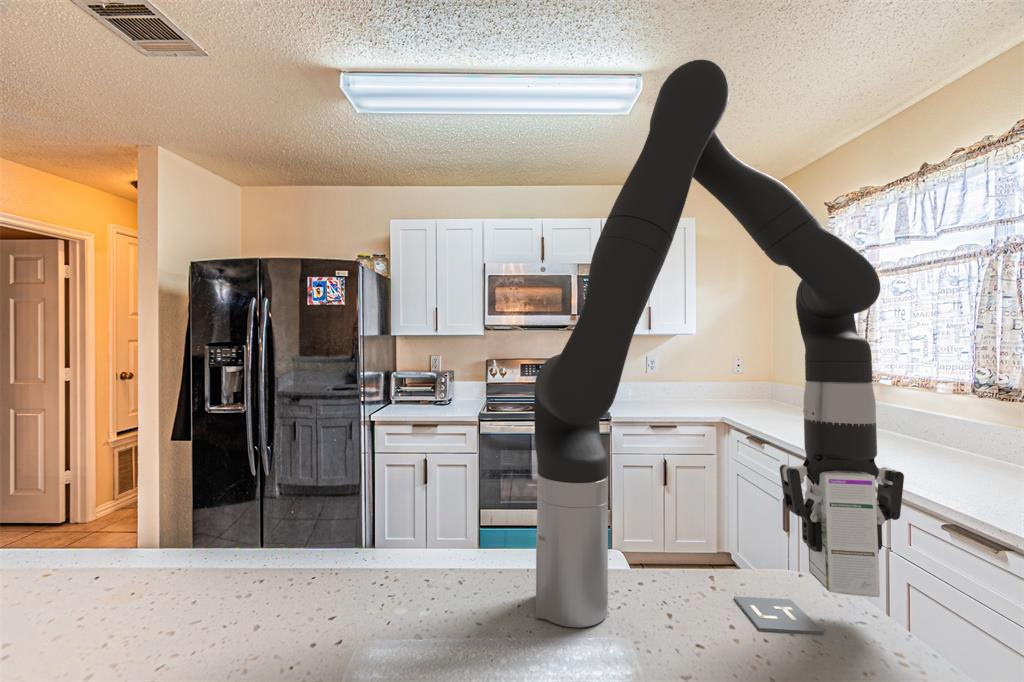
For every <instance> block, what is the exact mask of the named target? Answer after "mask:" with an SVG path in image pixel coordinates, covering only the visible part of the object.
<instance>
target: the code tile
mask: <svg viewBox="0 0 1024 682" xmlns="http://www.w3.org/2000/svg"><path fill="white" fill-rule="evenodd" d="M733 599H734V601H735V602H736V603H737V604H738V606H739V607H740V608H741V610H742V611H743V612H744V614H745V615H746V616H747V617H748V619H750V621H751V622H752V623H753V624H754V626H755V627H756V628H757V630H758V631H761V632H778V633H779V632H780V633H798V634H812V635H813V634H814V635H815V634H816V635H824V634H825V632H824V629H822V628H821V627H819V625H818V624H817V623H815V622H814V620H813V619H812V618H810V617H809V616H808V615H807V614H806V613H805V612H804V611H803V610H802V608H800V607H799V606H798V605H797V604H796V603H795V602H794V601H793V600H792V599H791V598H776V597H775V598H772V597H771V598H770V597H752V596H748V597H747V596H737V595H736V596H733Z"/></svg>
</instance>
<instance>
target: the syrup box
mask: <svg viewBox="0 0 1024 682" xmlns="http://www.w3.org/2000/svg"><path fill="white" fill-rule="evenodd" d="M805 477H806V478H805V479H806V481H805V482H806V489H807V488H808V486H809V484H810V483H811V485H812V492H813V494H814V495H816V496H820V495H821V496H822V497H823V504H822V505H821V518H820V520H819V522H820V523H821V531H822V552H814V551H813V550H811V549H810V548H808V571H809V573H810V574H811V575H812V577H814V578H815V579H816V580H817V582H819V583H820V584H821V586H823V587H824V588H825V589H826V590H827V591H828V593H832V594H833V593H834V594H840V595H847V596H858V597H867V598H868V597H870V598H873V597H874V598H880V597H881V589H880V585H881V584H880V565H879V564H880V562H879V561H880V558H879V554H878V535H877V514H876V499H877V491H876V480H875V477H874V476H873V475H870V474H868V473H865V472H857V471H827V472H822V473H821V474H820V482H819V485H818V486H817V485H816V483H815V484H814V485H813V484H812V482H811V481H810V480H809V478H808V477H807V476H806V475H805Z"/></svg>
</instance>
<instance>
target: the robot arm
mask: <svg viewBox="0 0 1024 682" xmlns="http://www.w3.org/2000/svg"><path fill="white" fill-rule="evenodd" d="M656 97H657V98H656V100H655V104H654V106H653V109H652V113H651V117H650V121H649V131H648V134H647V136H646V140H645V143H644V145H643V148H642V149H641V152H640V154H639V156H638V158H637V160H636V161H635V163H634V165H633V167H632V168H631V170H630V172H629V175H628V176H627V177H626V180H625V182H624V184H623V185H622V187H621V190H620V192H619V193H618V196H617V197H616V200H615V202H614V204H613V206H612V207H611V210H610V212H609V214H608V216H607V218H606V220H605V223H604V225H603V228H602V231H601V232H600V235H599V237H598V240H597V242H596V244H595V248H594V251H593V254H592V258H591V261H590V266H589V271H588V275H587V276H588V278H587V283H586V284H587V285H586V292H585V297H584V298H585V299H584V302H583V306H582V308H581V312H580V315H579V316H578V320H577V322H576V324H575V326H574V328H573V330H572V332H571V334H570V336H569V338H568V340H567V342H566V344H565V345H564V348H563V349H562V351H561V353H560V354H556V355H553V356H552V357H550V358H548V359H547V360H546V361H545V362H544V363H543V364H542V365H541V367H540V368H539V370H538V372H537V375H536V377H535V382H534V400H533V401H534V403H533V405H534V409H533V410H534V411H533V412H534V414H533V415H534V419H533V420H534V448H535V453H536V459H537V460H536V461H537V465H536V466H537V470H536V471H537V483H536V484H537V493H536V494H537V497H536V505H537V506H536V509H537V510H536V513H537V514H536V539H535V541H536V543H535V546H536V548H535V549H536V551H535V554H536V555H535V618H536V619H543V620H547V621H549V622H550V623H553V624H556V625H559V626H562V627H567V628H586V627H592V626H595V625H597V624H599V623H602V622H603V621H604V620H605V618H606V617H607V615H608V613H609V611H608V609H609V608H608V603H609V592H608V591H609V590H608V589H609V588H608V587H609V586H608V585H609V583H608V581H609V580H608V579H609V578H608V577H609V575H608V574H609V571H608V570H609V566H608V565H609V564H608V563H609V559H608V558H609V549H608V548H609V542H608V541H609V536H608V535H609V534H608V533H609V462H608V461H609V458H608V455H607V452H606V450H605V448H604V445H603V442H602V437H601V431H600V430H601V428H600V425H601V424H600V420H601V419H602V418H603V417H604V416H605V415H606V414H607V413H608V412H609V409H610V408H611V407H612V405H613V403H614V401H615V398H616V396H617V393H618V389H619V386H620V384H621V383H620V382H621V379H622V374H623V371H624V368H625V364H626V360H627V356H628V355H629V354H628V353H629V349H630V347H631V344H632V339H633V336H634V334H635V332H636V328H637V327H638V326H637V325H638V324H639V322H640V319H641V318H642V315H643V312H644V310H645V308H646V306H647V304H648V302H649V299H650V296H651V294H652V292H653V289H654V286H655V283H656V281H657V280H658V277H659V274H660V272H661V271H662V268H663V266H664V264H665V262H666V258H667V256H668V254H669V251H670V249H671V247H672V243H673V240H674V238H675V234H676V232H677V229H678V226H679V223H680V220H681V217H682V213H683V211H684V207H685V206H686V205H685V204H686V202H687V198H688V194H689V192H690V187H691V184H692V180H693V179H694V180H695V181H696V182H697V183H699V185H701V186H702V187H703V188H704V190H707V192H709V193H710V195H712V196H713V197H714V198H715V199H717V201H718V202H719V203H721V204H722V206H724V207H725V209H726V210H728V212H729V213H730V214H731V215H732V216H733V217H734V218H735V219H736V220H737V221H738V223H739V224H740V225H741V226H742V227H743V229H744V230H745V231H746V232H747V233H748V235H749V236H750V237H751V238H752V240H753V241H754V242H755V243H756V244H757V246H758V247H759V248H760V250H761V251H762V252H764V254H765V255H766V256H767V257H768V258H769V260H770V261H771V262H773V263H774V264H776V265H777V266H783V267H784V266H785V267H788V268H790V269H791V270H792V271H793V272H794V273H795V274H796V276H797V277H799V278H800V279H801V280H800V282H799V284H798V286H797V289H796V295H795V309H796V316H797V320H798V325H799V330H800V335H801V338H802V340H803V344H804V348H805V350H804V352H805V353H804V369H805V371H804V372H805V375H804V376H805V379H804V381H805V383H804V385H805V386H804V391H803V407H802V409H803V410H802V413H803V433H804V434H803V436H804V450H805V451H804V452H805V460H804V461H803V463H802V465H793V466H791V465H790V466H789V465H787V464H781V465H780V466H779V472H780V473H779V474H780V480H781V488H782V495H783V501H784V507H785V509H786V510H787V511H789V512H791V513H792V514H794V515H795V516H796V517H797V516H798V517H800V519H801V539H802V541H803V543H804V544H806V546H807V548H808V549H809V548H810V549H811V550H813V551H814V552H822V531H821V523H820V522H819V520H820V518H821V505H822V504H823V497H822V496H821V495H820V496H816V495H814V494H813V492H812V485H811V483H810V484H809V486H808V488H807V487H806V491H805V492H804V495H803V488H802V484H803V483H804V482H805V477H806V476H807V477H808V478H809V480H810V481H811V482H812V484H813V485H814V484H815V483H816V485H817V486H818V485H819V482H820V474H821V473H822V472H827V471H857V472H865V473H868V474H870V475H873V476H874V477H875V481H876V483H877V484H878V485H877V491H876V514H877V535H878V555H879V553H880V550H882V547H883V524H885V522H886V521H889V520H894V521H897V520H899V519H900V518H901V511H902V500H903V492H904V481H905V475H904V473H903V472H901V471H898V470H897V469H893V468H889V467H885V466H883V467H878V466H877V464H876V462H875V461H876V460H875V458H876V457H877V456H878V443H877V442H878V441H877V440H878V439H877V438H878V436H877V434H878V433H877V408H876V407H877V405H876V396H875V392H874V391H875V390H874V386H873V362H872V361H873V360H872V357H873V356H872V349H871V345H870V343H869V341H868V340H867V339H865V338H864V337H861V336H859V334H858V330H857V325H856V320H855V315H856V314H858V313H862V312H864V311H866V310H868V309H869V308H871V307H872V306H873V305H874V304H875V303H876V301H877V300H878V298H879V296H880V292H881V280H880V278H879V275H878V273H877V271H876V269H875V268H874V266H873V265H872V263H870V261H869V260H868V259H867V258H866V257H865V256H864V255H862V254H861V253H860V252H859V251H858V250H856V249H855V248H854V247H853V246H851V245H849V243H847V242H845V241H844V240H843V239H841V237H839V236H838V235H836V234H834V233H833V232H831V231H830V230H828V229H826V227H824V226H823V225H822V224H821V222H820V221H819V220H818V218H817V217H815V214H813V213H812V212H811V210H809V208H808V207H807V206H806V205H805V203H803V201H801V199H800V198H799V197H798V196H797V194H796V193H795V192H793V191H792V190H791V189H790V188H789V187H788V186H787V185H785V184H784V183H783V182H781V181H779V180H778V179H776V178H775V177H773V176H771V175H768V174H767V173H764V172H762V171H761V170H757V169H756V168H754V167H752V166H750V165H748V164H746V163H744V162H743V161H742V160H740V159H739V158H737V157H736V156H735V155H734V154H733V153H732V152H731V151H730V150H729V149H728V148H727V146H726V145H725V144H724V143H723V141H722V139H721V137H719V135H718V133H717V131H716V129H717V127H718V125H719V124H720V122H721V120H722V118H723V116H724V115H725V112H726V111H727V107H728V105H729V100H730V85H729V81H728V78H727V75H726V74H725V71H724V70H723V68H721V66H719V65H718V64H717V63H716V62H713V61H712V60H707V59H703V58H702V59H693V60H690V61H688V62H685V63H684V64H682V65H680V66H678V67H677V68H675V69H674V70H673V71H672V72H671V73H670V74H669V75H668V76H667V78H666V79H665V81H663V84H662V85H661V86H660V89H659V91H658V95H657V96H656ZM804 497H805V498H804Z"/></svg>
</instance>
